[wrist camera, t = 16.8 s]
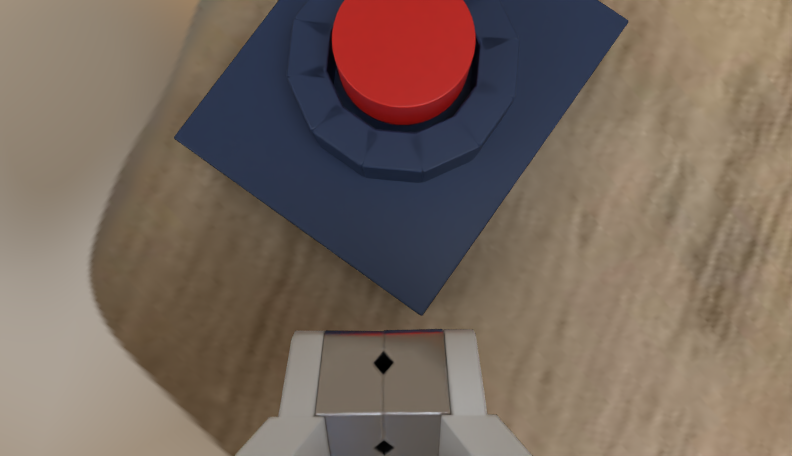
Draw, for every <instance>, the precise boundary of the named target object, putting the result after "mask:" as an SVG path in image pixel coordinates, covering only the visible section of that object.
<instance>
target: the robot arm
mask: <svg viewBox="0 0 792 456" xmlns="http://www.w3.org/2000/svg"><path fill="white" fill-rule="evenodd" d="M235 456H533V455H532V454H531V453H530V452H529V451H528V450H527V448H526V447H525V446H524V445H523V444H522V443H521V442H520V440H519V439H518V438H517V437H516V436H515V435H514V434H513V433H512V431H511V430H510V429H509V428H508V427H507V426H506V425H505V423H504V422H503V421H502V420H501V419H500V418H499V417H498V415H494V414H487V407H486V401H485V394H484V387H483V380H482V373H481V366H480V359H479V353H478V346H477V339H476V334H475V332H474V330H473V329H444V330H442V329H421V330H384V331H295V332H294V335H293V337H292V339H291V345H290V351H289V357H288V363H287V369H286V374H285V380H284V386H283V392H282V398H281V404H280V410H279V415H278V417H269V418H268V419H267V420H266V421H265V422H264V423H263V424H262V425H261V427H260V428H259V429H258V430H257V431H256V432H255V433H254V434H253V435H252V437H251V438H250V439H249V440H248V441H247V442H246V443H245V444H244V446H243V447H242V448H241V449H240V450H239V451H238V452H237V453H236V454H235Z"/></svg>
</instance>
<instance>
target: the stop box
mask: <svg viewBox="0 0 792 456" xmlns="http://www.w3.org/2000/svg"><path fill="white" fill-rule="evenodd" d="M463 1H464V2H465V4H466V5H467V7H468V9H469V11H470V13H471V16H472V19H473V22H474V26H475V34H476V45H475V52H474V56H473V59H472V63H471V66H470V69H469V72H468V75H467V79H466V82H465V84H464V87H463V89H462V91H461V93H460V94H459V96H458V97H457V99H456V100H455V101H454V102H453V104H452V105H451V106H450V107H448V108H447V109H446V110H445V111H444V112H442V113H441V114H439V115H438V116H436V117H434V118H432V119H430V120H427V121H425V122H421V123H417V124H411V125H395V124H389V123H385V122H382V121H379V120H377V119H375V118H372V117H371V116H369V115H367V114H366V113H364V112H363V111H362V110H360V109H359V108H358V107H357V106H356V105H355V104H354V103H353V102H352V100H351V99H350V98H349V96H348V95H347V93H346V91H345V89H344V88H343V85H342V82H341V80H340V76H339V73H338V69H337V66H336V62H335V58H334V54H333V50H332V30H333V24H334V21H335V18H336V14H337V12H338V10H339V8H340V6H341V5H342V3H343V2H344V0H279V1H278V2H277V3H276V5H275V6H274V7H273V9H272V10H271V11H270V12H269V14H268V15H267V16H266V18H265V19H264V20H263V22H262V23H261V24H260V25H259V27H258V28H257V29H256V31H255V32H254V33H253V35H252V36H251V37H250V39H249V40H248V41H247V42H246V44H245V45H244V46H243V48H242V49H241V50H240V52H239V53H238V54H237V56H236V57H235V58H234V59H233V61H232V62H231V63H230V65H229V66H228V67H227V69H226V70H225V71H224V73H223V74H222V75H221V76H220V78H219V79H218V80H217V82H216V83H215V84H214V86H213V87H212V88H211V89H210V91H209V92H208V93H207V95H206V96H205V97H204V99H203V100H202V101H201V103H200V104H199V105H198V106H197V108H196V109H195V110H194V112H193V113H192V114H191V116H190V117H189V118H188V120H187V121H186V122H185V123H184V125H183V126H182V127H181V129H180V130H179V131H178V133H177V134H176V135H175V137H174V138H175V140H177V141H178V142H180V143H181V144H182V145H184V146H185V147H187V148H188V149H189V150H191V151H192V152H194V153H195V154H196V155H198V156H199V157H201V158H202V159H203V160H205V161H206V162H207V163H209V164H210V165H212V166H213V167H214V168H216V169H217V170H219V171H220V172H221V173H223V174H224V175H226V176H227V177H228V178H230V179H231V180H233V181H234V182H235V183H237V184H238V185H239V186H241V187H242V188H244V189H245V190H246V191H248V192H249V193H251V194H252V195H253V196H255V197H256V198H258V199H259V200H260V201H262V202H263V203H265V204H266V205H267V206H269V207H270V208H271V209H273V210H274V211H276V212H277V213H278V214H280V215H281V216H283V217H284V218H285V219H287V220H288V221H290V222H291V223H292V224H294V225H295V226H297V227H298V228H299V229H301V230H302V231H303V232H305V233H306V234H308V235H309V236H310V237H312V238H313V239H315V240H316V241H317V242H319V243H320V244H322V245H323V246H324V247H326V248H327V249H329V250H330V251H331V252H333V253H334V254H336V255H337V256H338V257H340V258H341V259H342V260H344V261H345V262H347V263H348V264H349V265H351V266H352V267H354V268H355V269H356V270H358V271H359V272H361V273H362V274H363V275H365V276H366V277H368V278H369V279H370V280H372V281H373V282H374V283H376V284H377V285H379V286H380V287H381V288H383V289H384V290H386V291H387V292H388V293H390V294H391V295H393V296H394V297H395V298H397V299H398V300H400V301H401V302H402V303H404V304H405V305H406V306H408V307H409V308H411V309H412V310H413V311H415V312H416V313H418V314H419V315H421V316H422V315H423V314H424V313H425V311H426V310H427V308H428V307H429V305H430V304H431V303H432V301H433V300H434V298H435V297H436V295H437V294H438V293H439V291H440V290H441V288H442V287H443V286H444V284H445V283H446V281H447V280H448V278H449V277H450V276H451V274H452V273H453V271H454V270H455V268H456V267H457V266H458V264H459V263H460V261H461V260H462V258H463V257H464V256H465V254H466V253H467V251H468V250H469V249H470V247H471V246H472V244H473V243H474V241H475V240H476V239H477V237H478V236H479V234H480V233H481V231H482V230H483V229H484V227H485V226H486V224H487V223H488V221H489V220H490V219H491V217H492V216H493V214H494V213H495V211H496V210H497V209H498V207H499V206H500V204H501V203H502V202H503V200H504V199H505V197H506V196H507V194H508V193H509V192H510V190H511V189H512V187H513V186H514V184H515V183H516V182H517V180H518V179H519V177H520V176H521V174H522V173H523V172H524V170H525V169H526V167H527V166H528V165H529V163H530V162H531V160H532V159H533V157H534V156H535V155H536V153H537V152H538V150H539V149H540V147H541V146H542V145H543V143H544V142H545V140H546V139H547V137H548V136H549V135H550V133H551V132H552V130H553V129H554V128H555V126H556V125H557V123H558V122H559V120H560V119H561V118H562V116H563V115H564V113H565V112H566V110H567V109H568V108H569V106H570V105H571V103H572V102H573V100H574V99H575V98H576V96H577V95H578V93H579V92H580V90H581V89H582V88H583V86H584V85H585V83H586V82H587V81H588V79H589V78H590V76H591V75H592V73H593V72H594V71H595V69H596V68H597V66H598V65H599V63H600V62H601V61H602V59H603V58H604V56H605V55H606V53H607V52H608V51H609V49H610V48H611V46H612V45H613V44H614V42H615V41H616V39H617V38H618V36H619V35H620V34H621V32H622V31H623V29H624V28H625V26H626V25H627V24H628V20H627V19H625V18H624V17H622V16H621V15H619V14H618V13H616V12H615V11H613V10H612V9H610V8H609V7H607V6H606V5H604V4H603V3H601V2H600V1H598V0H463Z"/></svg>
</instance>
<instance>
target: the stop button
mask: <svg viewBox="0 0 792 456" xmlns="http://www.w3.org/2000/svg"><path fill="white" fill-rule="evenodd" d="M475 45H476V34H475V26H474V22H473V19H472V16H471V13H470V11H469V9H468V7H467V5H466V4H465V2H464V1H463V0H344V2H343V3H342V5H341V6H340V8H339V10H338V12H337V14H336V18H335V21H334V24H333V30H332V50H333V54H334V58H335V62H336V66H337V69H338V73H339V76H340V80H341V82H342V85H343V88H344V89H345V91H346V93H347V95H348V96H349V98H350V99H351V100H352V102H353V103H354V104H355V105H356V106H357V107H358V108H359V109H360V110H362V111H363V112H364V113H366V114H367V115H369V116H371V117H372V118H375V119H377V120H379V121H382V122H385V123H389V124H395V125H411V124H417V123H421V122H425V121H427V120H430V119H432V118H434V117H436V116H438V115H439V114H441V113H442V112H444V111H445V110H446V109H447V108H448V107H450V106H451V105H452V104H453V102H454V101H455V100H456V99H457V97H458V96H459V94H460V93H461V91H462V89H463V87H464V84H465V82H466V79H467V75H468V72H469V69H470V66H471V63H472V59H473V56H474V52H475Z"/></svg>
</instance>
